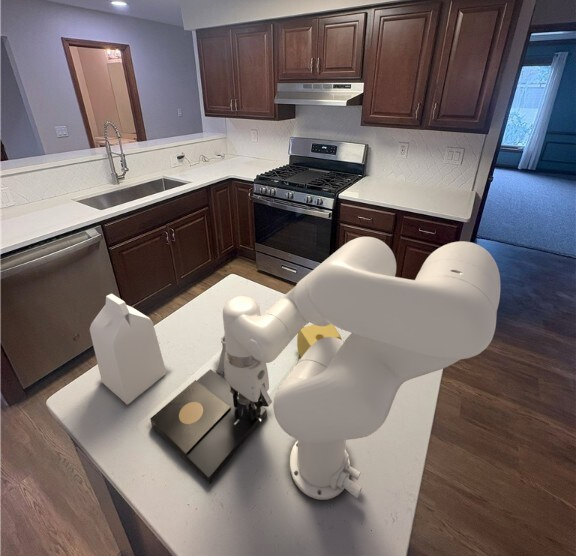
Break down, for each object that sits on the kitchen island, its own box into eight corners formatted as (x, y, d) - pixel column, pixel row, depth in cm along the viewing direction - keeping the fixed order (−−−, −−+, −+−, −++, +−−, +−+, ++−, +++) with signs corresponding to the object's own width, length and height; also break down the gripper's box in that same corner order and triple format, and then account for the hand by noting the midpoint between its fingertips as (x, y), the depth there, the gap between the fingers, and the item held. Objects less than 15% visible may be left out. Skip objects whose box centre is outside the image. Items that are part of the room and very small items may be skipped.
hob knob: (260, 408, 75) (259, 392, 73) (247, 422, 72) (246, 406, 70) (246, 398, 77) (245, 383, 75) (234, 412, 74) (232, 396, 72)
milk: (166, 373, 87) (151, 295, 76) (127, 404, 78) (104, 321, 68) (140, 354, 93) (124, 280, 83) (101, 381, 84) (77, 302, 74)
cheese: (345, 368, 89) (347, 341, 85) (310, 380, 85) (312, 352, 81) (327, 343, 97) (329, 317, 94) (295, 353, 94) (296, 326, 90)
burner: (230, 408, 75) (230, 407, 75) (186, 455, 65) (185, 453, 65) (195, 381, 82) (195, 379, 82) (150, 420, 72) (150, 418, 72)
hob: (272, 412, 76) (272, 406, 75) (212, 486, 62) (211, 480, 61) (214, 371, 87) (213, 365, 87) (151, 425, 73) (150, 419, 72)
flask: (236, 378, 85) (234, 350, 81) (211, 374, 86) (208, 346, 83) (245, 358, 92) (243, 331, 88) (222, 354, 93) (219, 327, 89)
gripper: (285, 357, 66) (285, 416, 73) (228, 325, 75) (233, 380, 82) (262, 382, 60) (264, 443, 67) (204, 343, 69) (211, 401, 76)
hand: (247, 408), depth 74 cm, fingers closed on hob knob, 4 cm apart
